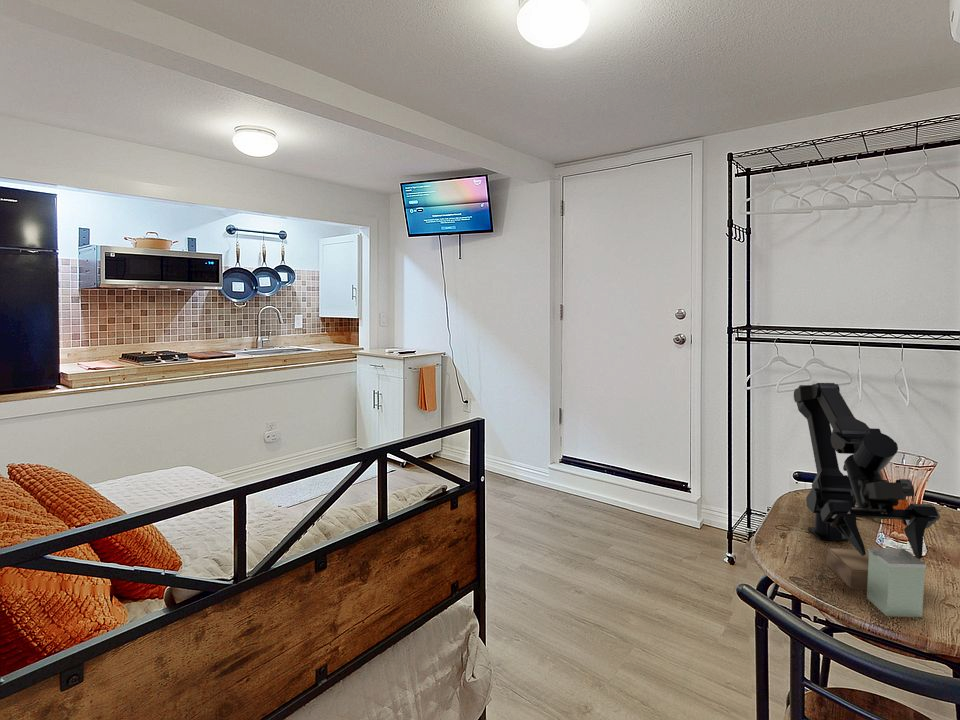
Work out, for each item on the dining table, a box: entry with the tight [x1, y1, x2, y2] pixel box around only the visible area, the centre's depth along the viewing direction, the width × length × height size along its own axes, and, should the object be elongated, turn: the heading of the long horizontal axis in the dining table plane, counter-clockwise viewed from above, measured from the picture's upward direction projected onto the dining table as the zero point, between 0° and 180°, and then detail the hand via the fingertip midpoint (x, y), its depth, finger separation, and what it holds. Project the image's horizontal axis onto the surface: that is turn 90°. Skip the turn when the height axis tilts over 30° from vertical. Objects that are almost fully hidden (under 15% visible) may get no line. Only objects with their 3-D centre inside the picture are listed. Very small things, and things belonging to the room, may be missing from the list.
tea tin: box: [866, 547, 927, 618], centre depth 100 cm, size 6×6×10 cm
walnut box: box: [825, 547, 869, 591], centre depth 111 cm, size 10×10×4 cm
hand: (891, 556), depth 101 cm, fingers open, 9 cm apart
